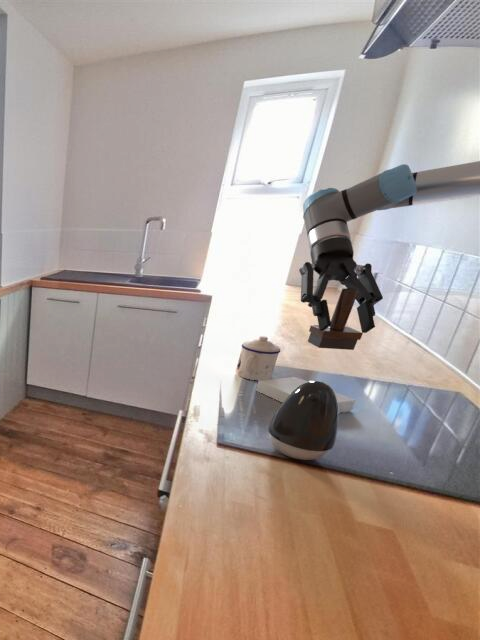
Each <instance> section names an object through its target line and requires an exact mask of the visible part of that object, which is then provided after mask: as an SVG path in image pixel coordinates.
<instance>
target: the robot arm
mask: <svg viewBox="0 0 480 640" xmlns="http://www.w3.org/2000/svg"><path fill="white" fill-rule="evenodd" d="M477 197H480V160H477V161H471V162H466V163H460V164H454V165H449V166H443V167H437V168H432V169H427V170H420V171H417V172H412V170H411V168H410V166H409V165H408V164H399V165H397V166H396V167H393V168H392V167H391V168H389V169H386V170H384V171H382V172H380V173H379V174H376V175H374V176H372V177H369V178H368V179H365V180H363V181H361V182H359V183H357V184H355V185H352V186H350V187H348V188H345V189H343V190H339V189H337V188H335V187H327V188H325V189H319V190H316V191H313V193H310V195H309V196H307V197H306V199H305V200H304V201H303V204H302V212H303V215H302V219H303V221H304V226H305V230H306V235H307V241H308V246H309V251H310V259H311V262H310V261H305V263H304V264H303V265H302V266H301V267H300V268H299V269H298V271H299V273H300V276H301V281H300V282H301V283H300V284H301V285H300V288H301V289H300V302H301V303H303V304H304V303H305V304H306V303H307V306H308V307H309V308H311V309H312V315H313V316H314V317H317V323H318V324H317V325H319V330H320V331H324V330H325V329H326V328H328V327H329V326H330V325H331V315H330V311H329V305H328V299H323V297H324V294H325V292H326V289H327V286H328V283H329V282H331V281H337V282H339V284H340V285H342V286H345V288H348V289H356V290H359V291H358V294H357V296H356V299H355V302H357V304H358V305H359V306H357V307H356V313H357V316H358V320H359V324H360V325H359V326H360V329H361V330H360V331H361V333H363V334H367V333H368V332H370V331H371V330H373V329H374V328H376V325H375V324H376V323H375V320H374V317H375V316H376V310H375V306H374V305H376V304H378V303H379V302H381V301H382V300H383V299H384V297H383V294H382V292H381V290H380V288H379V286H378V283H377V280H376V279H375V277H374V275H373V272H372V264H371V263H365V264H364V265H362V264H357V262H356V261H355V259H354V252H355V251H354V248H353V243H352V238H351V234H350V230H349V225H348V222H350V221H353V220H356V219H358V218H360V217H363V216H365V215H368V214H371V213H373V212H377V211H386V210H390V209H396V208H404V207H405V208H406V207H409V206H417V205H425V204H433V203H440V202H447V201H456V200H463V199H471V198H477ZM314 272H315V273H316V274H317V275H318V278H317V281H316V286H315V288H314Z"/></svg>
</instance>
